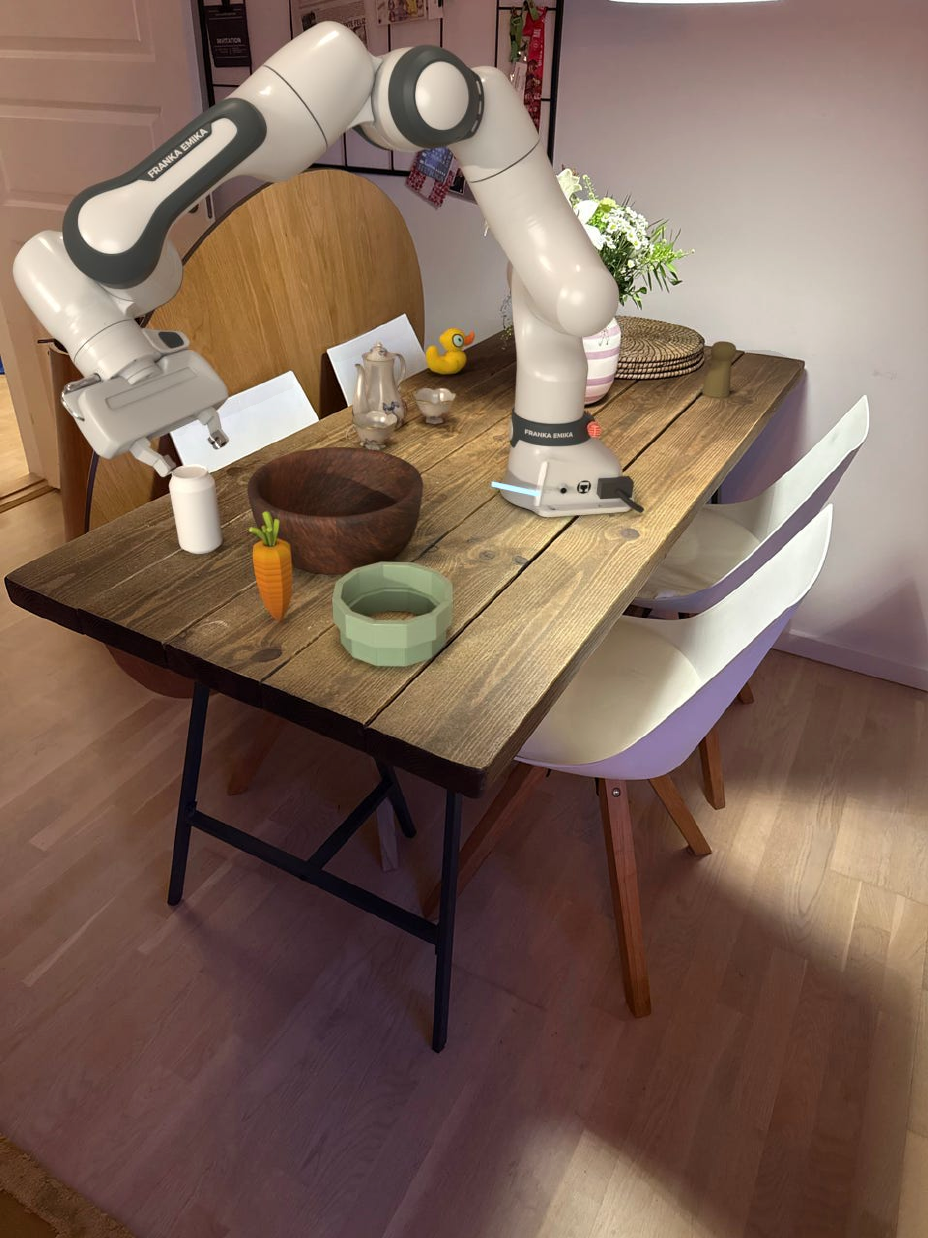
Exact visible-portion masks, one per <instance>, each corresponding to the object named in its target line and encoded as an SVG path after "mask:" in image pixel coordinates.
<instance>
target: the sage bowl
mask: <svg viewBox="0 0 928 1238" xmlns="http://www.w3.org/2000/svg"><path fill="white" fill-rule="evenodd" d="M453 587H454V584H453V583H452V582H451V581H450V580H449V579H448V578H446V576H444V575H443V574H442V573H441V572H440V571H439V570H438V569H434V568H432V567H429V566H425V565H422V564H419V563H415V562H412V561H390V562H378V563H374V564H370V565H366V566H363V567H359V568H355V569H353V570H352V571H350V572H349V573H348V574H344V575H343V576H342V577H340V578H339V579H338V580H337V581H335V583H334V587H333V593H332V598H331V601H332V604H331V605H332V618H333V619H332V620H333V621H332V622H333V624H335V626H336V627H337V629H339V636H340V637H339V638H340V643H341V644H342V646H343V647H344V648H345V650H346V651H347V652H348V653H349V654H350V656H351V657H352V658H354V659H356V660H359V661H361V662H365V663H367V664H369V665H373V666H375V667H410V666H413V665H415V664H418V663H421V662H425V661H428V660H431V659H432V658H434V657H435V656H436V654H437V653H439V652H440V651H441V650H442V649H443V648H444V647H445V646H446V645H447V629H449V628H450V627H451V626H452V624H453V613H454V612H453V607H454V605H453V604H454V588H453ZM383 612H409V613H412V614H414V615H417V616H415V617H412V618H408V619H404V620H403V619H376V618H372V617H370V616H373V615H376V614H379V613H383Z"/></svg>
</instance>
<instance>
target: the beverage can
mask: <svg viewBox="0 0 928 1238" xmlns="http://www.w3.org/2000/svg"><path fill="white" fill-rule="evenodd" d="M168 488H169V493H170V499H171V504H172V511H173V515H174V516H173V517H174V522H175V528H176V533H177V540H178V544H179V546H180V547H179V548H181V549H182V550H183V551H186V552H188V553H191V554H195V555H204V554H208V553H212V552H213V551H215V550H216V549H217V548H219V547H220V546H221V545H222V544H223V542H224V541H223V540H224V539H223V529H222V524H221V515H220V508H219V501H218V495H217V488H216V480H215V479H214V477H213V476H212V475H211V473H210V472H209V469H208V467H206V466H205V465H201V464H184V465H181V466H178V467H176V469H175V470H174V471H173V472H172V473H171V479H170V480H169V484H168Z"/></svg>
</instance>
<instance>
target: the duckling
mask: <svg viewBox="0 0 928 1238" xmlns="http://www.w3.org/2000/svg"><path fill="white" fill-rule="evenodd" d="M475 337H476V335H475V332H474V331H471V332H470V333H469V334H468V335H466V334H465V332H464V331H463V330H462V329H460V328H458V327H450V328H448V329H446V330H444V332H442V334H440V336H439V342H440V344H441V346H442V347H443V349H444V350H445V351H446V352H445V353H443V354H440V353H439V350H438V348H437V346H436V345H430V346H429V347H427V349H426V352H425V362H426V365H427V367H428V369H430V371H432V372H434V373H436V374H439V375H455V374H458V373H459V372H460V371H461V370H462V369H463V368H464V367H465V365H466V363H467V355H466V353H465V352H464V351H463V348H464V347H468V346H470V345H471V344H473V342H474V340H475Z"/></svg>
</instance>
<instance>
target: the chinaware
mask: <svg viewBox="0 0 928 1238" xmlns="http://www.w3.org/2000/svg"><path fill="white" fill-rule="evenodd" d="M373 346H374V347H371V348H370V350H369V351H368V352H364V353H362V354H361V356H360V357H361V358H362V361H363V365H362V364H361V363H355V364H354V367H355V368H356V370H357V376H356V382H355V388H354V393H353V397H352V408H351V415H352V419H351V421H350V422H351V425H352V426H350V427H349V428H347V430H346V431H345V438H346V441H347V442H348V443H349V444H357V443H358V442H360V443H359V445H360V447H364V446H365V447H366V449H370V450H376V451H381V450H382V449H384V448H386V445H385V443H387V442H388V441H389V440H390V439H391V437H392V436H393V434H394V432H395V431H397V430H399V429H401V428H402V427H403V423H402V422H403V420H404V419H405V417H406V415H407V414H408V412H409V406H408V404H407V403H406V401H405V400H404V398H403V397H402V395H401V393H402V390H403V388H402V386H401V385H400V384H401V383H402V382H403V380H404V378H405V375H406V360H405V358H404V356H403V355H402V354H401V353H399V352H398V353H397V352H391V351H388V349H386V348H385V347H384V346H383V344H382V343H381V341H380V340H377V341H376V342H375V344H374V345H373ZM396 358H398V359H399V361H400V374H399V377H398V379H397V381H396V380H395V374H394V372H395V369H394V366H395V362H396V361H395V359H396ZM411 397H412V398H413V399H414V400H415V404H416V407H417V410H418V411H419V413H420V414H421V415H422V416H423V417H425V423H428V424H433V425H438V424H441V423H443V418H445V417H446V416H447V415H448V414H449V413H450V411H451V409H452V406H453V403H454V401H455V400H456V399H457V397H458V394H457V393H453V392H452V391H450V390H449V389H448V388H446V387H439V388H436V389H432V388H430V387H422V388H420V389H418V390H417V392H413V393H412V394H411ZM351 430H352V431H356V434H357V436H358V438H359V439H356V440H355V441H351V440H350V439H349V432H350V431H351Z"/></svg>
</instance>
